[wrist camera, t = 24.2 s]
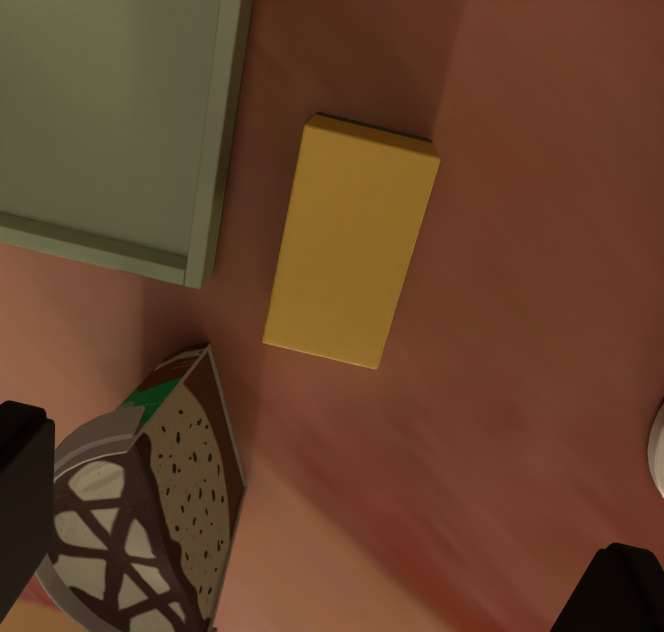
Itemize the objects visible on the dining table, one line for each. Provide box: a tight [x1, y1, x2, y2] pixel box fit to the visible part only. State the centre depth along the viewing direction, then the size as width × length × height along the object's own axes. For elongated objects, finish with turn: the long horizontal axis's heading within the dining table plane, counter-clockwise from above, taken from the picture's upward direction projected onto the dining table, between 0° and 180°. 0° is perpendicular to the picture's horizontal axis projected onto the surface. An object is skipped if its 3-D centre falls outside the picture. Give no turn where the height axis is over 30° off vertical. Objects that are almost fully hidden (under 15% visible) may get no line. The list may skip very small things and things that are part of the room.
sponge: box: [262, 112, 441, 369], centre depth 24 cm, size 5×9×4 cm, turn 167°
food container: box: [35, 343, 248, 632], centre depth 27 cm, size 12×6×10 cm, turn 8°
